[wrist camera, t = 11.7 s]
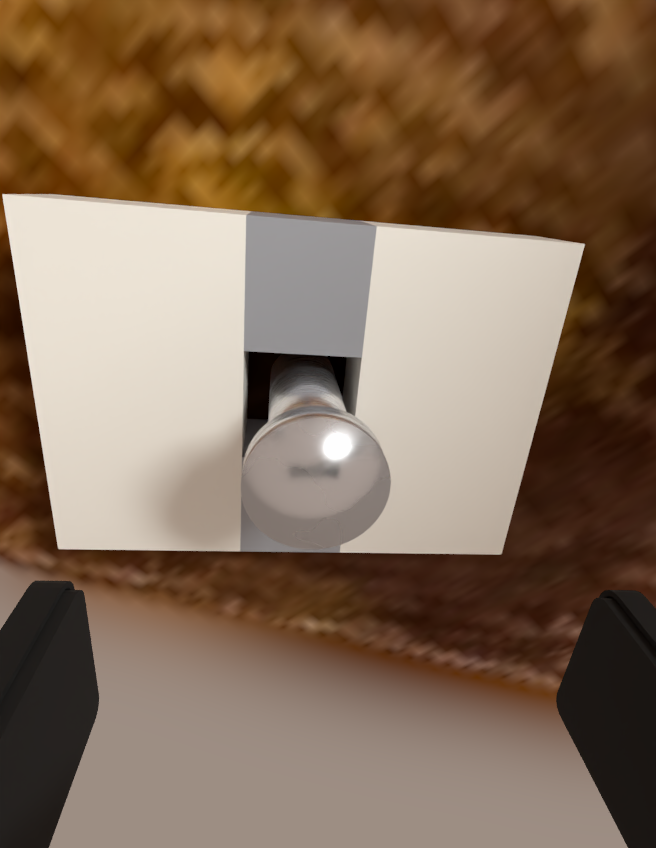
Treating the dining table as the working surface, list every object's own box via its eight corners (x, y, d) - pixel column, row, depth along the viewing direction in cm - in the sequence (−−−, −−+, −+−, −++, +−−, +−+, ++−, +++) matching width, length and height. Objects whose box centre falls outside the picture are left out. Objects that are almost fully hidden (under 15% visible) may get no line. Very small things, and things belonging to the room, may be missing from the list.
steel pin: (256, 328, 23) (241, 416, 14) (353, 334, 23) (400, 422, 14) (253, 418, 25) (239, 548, 16) (344, 422, 25) (381, 550, 16)
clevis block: (89, 498, 26) (58, 549, 22) (52, 194, 20) (2, 194, 16) (472, 507, 28) (501, 554, 24) (535, 236, 22) (585, 243, 19)
